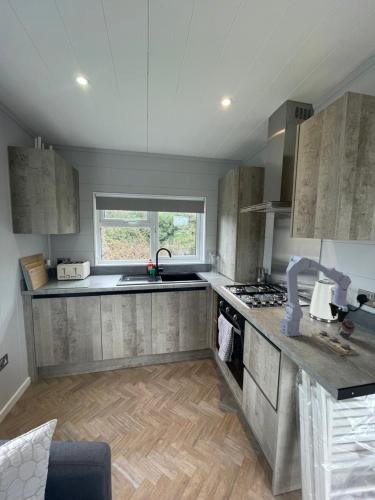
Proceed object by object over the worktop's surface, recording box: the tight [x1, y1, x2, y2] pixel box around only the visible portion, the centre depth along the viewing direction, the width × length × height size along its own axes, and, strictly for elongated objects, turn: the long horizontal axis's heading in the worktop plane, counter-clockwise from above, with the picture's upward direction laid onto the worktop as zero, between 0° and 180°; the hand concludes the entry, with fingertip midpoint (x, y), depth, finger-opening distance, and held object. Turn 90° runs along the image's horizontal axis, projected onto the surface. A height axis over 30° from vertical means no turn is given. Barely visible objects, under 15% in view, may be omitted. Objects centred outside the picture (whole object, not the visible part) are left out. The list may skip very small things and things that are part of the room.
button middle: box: [331, 336, 339, 343], centre depth 114 cm, size 3×3×2 cm
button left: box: [320, 330, 328, 336], centre depth 120 cm, size 3×3×2 cm
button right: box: [342, 343, 351, 350], centre depth 107 cm, size 3×3×2 cm
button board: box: [311, 332, 357, 357], centre depth 114 cm, size 10×17×2 cm, turn 14°
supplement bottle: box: [337, 319, 356, 338], centre depth 120 cm, size 6×6×11 cm
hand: (336, 318), depth 123 cm, fingers open, 7 cm apart
